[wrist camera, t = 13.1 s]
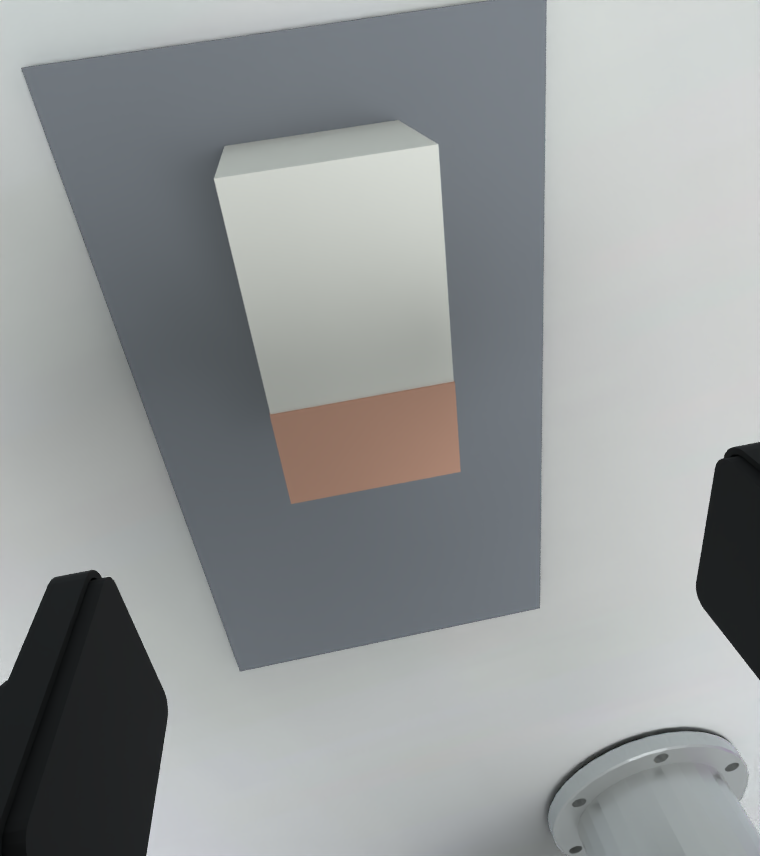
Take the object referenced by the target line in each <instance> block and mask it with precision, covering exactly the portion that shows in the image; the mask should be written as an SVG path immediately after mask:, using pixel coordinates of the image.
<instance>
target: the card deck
mask: <svg viewBox="0 0 760 856" xmlns="http://www.w3.org/2000/svg"><path fill="white" fill-rule="evenodd" d="M214 181H215V186H216V190H217V194H218V198H219V202H220V206H221V211H222V215H223V219H224V223H225V227H226V231H227V236H228V240H229V244H230V248H231V252H232V256H233V261H234V265H235V269H236V273H237V277H238V281H239V286H240V290H241V294H242V298H243V302H244V306H245V311H246V315H247V319H248V323H249V327H250V331H251V335H252V340H253V344H254V348H255V352H256V356H257V360H258V365H259V369H260V373H261V377H262V381H263V385H264V390H265V394H266V398H267V402H268V406H269V410H270V419H271V423H272V427H273V431H274V435H275V439H276V444H277V448H278V452H279V456H280V460H281V464H282V469H283V473H284V477H285V481H286V485H287V489H288V493H289V498H290V502H291V504H294V503H300V502H305V501H310V500H315V499H321V498H326V497H331V496H336V495H342V494H347V493H352V492H357V491H363V490H368V489H373V488H378V487H384V486H389V485H394V484H399V483H405V482H410V481H415V480H420V479H426V478H431V477H436V476H441V475H447V474H452V473H457V472H461V469H460V453H459V438H458V422H457V406H456V391H455V381H454V377H453V362H452V346H451V331H450V316H449V300H448V285H447V269H446V254H445V238H444V223H443V208H442V192H441V177H440V161H439V146H438V144H437V143H435V142H434V141H432V140H430V139H429V138H427V137H425V136H424V135H422V134H421V133H419V132H417V131H416V130H414V129H412V128H411V127H409V126H407V125H406V124H404V123H402V122H401V121H399V120H395V121H388V122H381V123H375V124H368V125H361V126H355V127H348V128H341V129H335V130H328V131H321V132H315V133H308V134H301V135H295V136H288V137H281V138H275V139H268V140H261V141H255V142H248V143H241V144H235V145H228V146H224V149H223V152H222V155H221V158H220V161H219V165H218V168H217V171H216V174H215V177H214Z"/></svg>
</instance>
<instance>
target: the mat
mask: <svg viewBox="0 0 760 856" xmlns="http://www.w3.org/2000/svg"><path fill="white" fill-rule="evenodd" d="M546 2H547V0H491V1H484V2H477V3H470V4H463V5H456V6H449V7H442V8H435V9H428V10H421V11H414V12H407V13H400V14H393V15H386V16H379V17H372V18H365V19H358V20H351V21H344V22H338V23H331V24H324V25H317V26H310V27H303V28H296V29H289V30H282V31H275V32H268V33H261V34H254V35H247V36H240V37H233V38H226V39H219V40H212V41H205V42H198V43H191V44H184V45H177V46H170V47H163V48H157V49H150V50H143V51H136V52H129V53H122V54H115V55H108V56H101V57H94V58H87V59H80V60H73V61H66V62H59V63H52V64H45V65H38V66H31V67H24V68H21V69H22V72H23V74H24V77H25V80H26V83H27V85H28V88H29V91H30V94H31V96H32V99H33V102H34V105H35V107H36V110H37V113H38V116H39V118H40V121H41V124H42V127H43V129H44V132H45V135H46V138H47V140H48V143H49V146H50V149H51V151H52V154H53V157H54V160H55V163H56V165H57V168H58V171H59V174H60V176H61V179H62V182H63V185H64V187H65V190H66V193H67V196H68V198H69V201H70V204H71V207H72V209H73V212H74V215H75V218H76V220H77V223H78V226H79V229H80V231H81V234H82V237H83V240H84V242H85V245H86V248H87V251H88V253H89V256H90V259H91V262H92V265H93V267H94V270H95V273H96V276H97V278H98V281H99V284H100V287H101V289H102V292H103V295H104V298H105V300H106V303H107V306H108V309H109V311H110V314H111V317H112V320H113V322H114V325H115V328H116V331H117V333H118V336H119V339H120V342H121V344H122V347H123V350H124V353H125V355H126V358H127V361H128V364H129V367H130V369H131V372H132V375H133V378H134V380H135V383H136V386H137V389H138V391H139V394H140V397H141V400H142V402H143V405H144V408H145V411H146V413H147V416H148V419H149V422H150V424H151V427H152V430H153V433H154V435H155V438H156V441H157V444H158V446H159V449H160V452H161V455H162V457H163V460H164V463H165V466H166V469H167V471H168V474H169V477H170V480H171V482H172V485H173V488H174V491H175V493H176V496H177V499H178V502H179V504H180V507H181V510H182V513H183V515H184V518H185V521H186V524H187V526H188V529H189V532H190V535H191V537H192V540H193V543H194V546H195V548H196V551H197V554H198V557H199V560H200V562H201V565H202V568H203V571H204V573H205V576H206V579H207V582H208V584H209V587H210V590H211V593H212V595H213V598H214V601H215V604H216V606H217V609H218V612H219V615H220V617H221V620H222V623H223V626H224V628H225V631H226V634H227V637H228V639H229V642H230V645H231V648H232V650H233V653H234V656H235V659H236V662H237V664H238V667H239V670H240V671H244V670H249V669H254V668H259V667H263V666H268V665H273V664H278V663H282V662H287V661H292V660H297V659H301V658H306V657H311V656H316V655H320V654H325V653H330V652H334V651H339V650H344V649H349V648H353V647H358V646H363V645H368V644H372V643H377V642H382V641H387V640H391V639H396V638H401V637H405V636H410V635H415V634H420V633H424V632H429V631H434V630H439V629H443V628H448V627H453V626H458V625H462V624H467V623H472V622H476V621H481V620H486V619H491V618H495V617H500V616H505V615H510V614H514V613H519V612H524V611H529V610H533V609H538V608H540V542H541V452H542V362H543V272H544V182H545V92H546ZM395 120H399V121H401V122H402V123H404V124H406V125H407V126H409V127H411V128H412V129H414V130H416V131H417V132H419V133H421V134H422V135H424V136H425V137H427V138H429V139H430V140H432V141H434V142H435V143H437V144H438V146H439V161H440V177H441V192H442V208H443V223H444V238H445V254H446V269H447V285H448V300H449V316H450V331H451V346H452V362H453V377H454V381H455V391H456V406H457V422H458V438H459V453H460V469H461V472H457V473H452V474H447V475H441V476H436V477H431V478H426V479H420V480H415V481H410V482H405V483H399V484H394V485H389V486H384V487H378V488H373V489H368V490H363V491H357V492H352V493H347V494H342V495H336V496H331V497H326V498H321V499H315V500H310V501H305V502H300V503H294V504H291V502H290V498H289V493H288V489H287V485H286V481H285V477H284V473H283V469H282V464H281V460H280V456H279V452H278V448H277V444H276V439H275V435H274V431H273V427H272V423H271V419H270V410H269V406H268V402H267V398H266V394H265V390H264V385H263V381H262V377H261V373H260V369H259V365H258V360H257V356H256V352H255V348H254V344H253V340H252V335H251V331H250V327H249V323H248V319H247V315H246V311H245V306H244V302H243V298H242V294H241V290H240V286H239V281H238V277H237V273H236V269H235V265H234V261H233V256H232V252H231V248H230V244H229V240H228V236H227V231H226V227H225V223H224V219H223V215H222V211H221V206H220V202H219V198H218V194H217V190H216V186H215V181H214V177H215V174H216V171H217V168H218V165H219V161H220V158H221V155H222V152H223V149H224V146H228V145H235V144H241V143H248V142H255V141H261V140H268V139H275V138H281V137H288V136H295V135H301V134H308V133H315V132H321V131H328V130H335V129H341V128H348V127H355V126H361V125H368V124H375V123H381V122H388V121H395Z"/></svg>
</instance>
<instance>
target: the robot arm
mask: <svg viewBox="0 0 760 856" xmlns="http://www.w3.org/2000/svg"><path fill="white" fill-rule="evenodd" d="M696 591H697V596H698V599H699V601H700V603H701V605H702V607H703V608H704V609H705V611H706V612H707V613H708V615H709V616H710V617H711V618H712V620H713V621H714V622H715V624H716V625H717V626H718V627H719V629H720V630H721V631H722V632H723V634H724V635H725V636H726V638H727V639H728V640H729V641H730V643H731V644H732V645H733V646H734V648H735V649H736V650H737V652H738V653H739V654H740V655H741V657H742V658H743V659H744V661H745V662H746V663H747V664H748V666H749V667H750V668H751V669H752V671H753V672H754V673H755V675H756V676H757V677H758V678H759V680H760V442H758V443H753V444H747V445H742V446H737V447H732V448H730V449H728V450H727V452H726V453H725V455H724V459H721V460H719V461H718V462H717V464H716V467H715V472H714V478H713V484H712V490H711V496H710V502H709V508H708V514H707V520H706V527H705V533H704V539H703V545H702V551H701V557H700V563H699V569H698V575H697V581H696ZM167 717H168V706H167V699H166V695H165V692H164V690H163V688H162V686H161V683H160V681H159V679H158V677H157V674H156V672H155V670H154V668H153V666H152V663H151V661H150V659H149V657H148V654H147V652H146V650H145V648H144V646H143V643H142V641H141V639H140V637H139V635H138V632H137V630H136V628H135V626H134V623H133V621H132V619H131V617H130V615H129V612H128V610H127V608H126V606H125V603H124V601H123V599H122V597H121V595H120V592H119V590H118V588H117V586H116V584H115V582H114V580H113V579H112V578H111V577H106V578H102V577H101V575H100V574H99V573H98V572H97V571H95V570H90V571H85V572H80V573H74V574H69V575H64V576H59V577H55V578H53V579H52V580H51V581H50V583H49V584H48V586H47V589H46V591H45V594H44V596H43V598H42V601H41V603H40V605H39V608H38V610H37V613H36V615H35V617H34V620H33V622H32V624H31V627H30V629H29V632H28V634H27V636H26V639H25V641H24V644H23V646H22V648H21V651H20V653H19V655H18V658H17V660H16V663H15V665H14V667H13V670H12V672H11V674H10V677H9V679H8V680H7V681H5V682H4V683H3V684H2V685H1V686H0V856H146V853H147V847H148V840H149V834H150V828H151V821H152V815H153V808H154V802H155V796H156V789H157V783H158V776H159V770H160V763H161V757H162V751H163V744H164V738H165V731H166V725H167ZM748 777H749V774H748V769H747V765H746V763H745V762H744V760H743V759H742V757H741V755H740V754H739V752H738V751H737V749H736V748H735V747H734V746H733V745H732V744H731V743H730V742H729V741H727V740H725V739H723V738H721V737H719V736H717V735H712V734H708V733H704V732H694V731H679V732H667V733H662V734H657V735H652V736H648V737H644V738H641V739H638V740H635V741H632V742H629V743H626V744H624V745H622V746H619V747H617V748H615V749H612V750H610V751H608V752H606V753H605V754H603V755H601V756H599V757H598V758H596V759H594V760H592V761H591V762H590V763H588V764H587V765H585V766H584V767H583V768H581V769H580V770H578V771H577V772H576V773H575V774H574V775H573V776H572V777H571V778H570V779H569V780H567V781H566V782H565V784H564V785H563V786H562V787H561V789H560V790H559V791H558V793H557V794H556V796H555V798H554V800H553V802H552V804H551V806H550V809H549V814H548V823H549V828H550V831H551V833H552V836H553V838H554V841H555V844H556V846H557V847H558V848H559V849H560V850H561V851H562V852H563V853H565V854H566V855H568V856H760V834H759V833H758V831H757V830H756V828H755V826H754V825H753V823H752V822H751V820H750V818H749V817H748V815H747V814H746V812H745V810H744V809H743V807H742V806H741V804H740V802H739V801H740V799H741V798H742V796H743V794H744V792H745V790H746V787H747V783H748Z"/></svg>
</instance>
